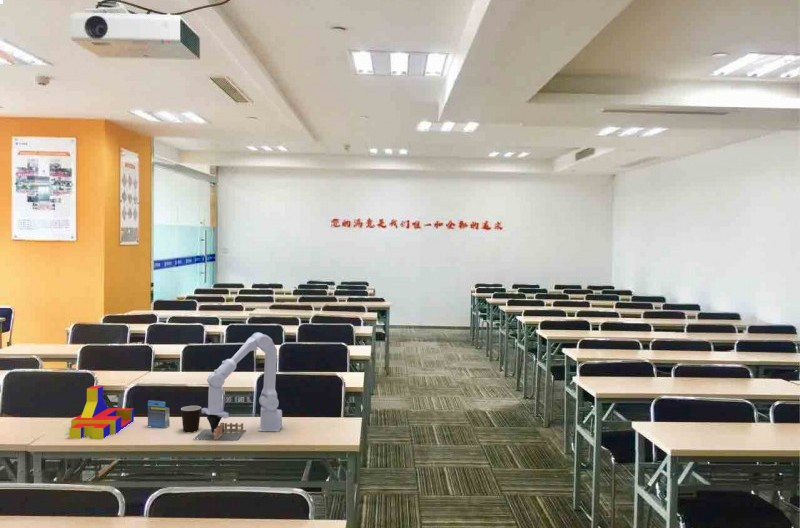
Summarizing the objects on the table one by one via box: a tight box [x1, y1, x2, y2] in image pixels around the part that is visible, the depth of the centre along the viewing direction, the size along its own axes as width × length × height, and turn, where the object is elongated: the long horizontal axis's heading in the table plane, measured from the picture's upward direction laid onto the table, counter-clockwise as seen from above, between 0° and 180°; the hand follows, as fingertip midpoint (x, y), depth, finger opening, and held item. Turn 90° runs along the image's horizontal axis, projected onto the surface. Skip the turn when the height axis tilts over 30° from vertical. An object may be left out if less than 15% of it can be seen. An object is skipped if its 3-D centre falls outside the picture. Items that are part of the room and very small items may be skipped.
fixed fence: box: [219, 422, 244, 433], centre depth 255 cm, size 10×2×4 cm, turn 90°
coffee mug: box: [180, 405, 202, 433], centre depth 260 cm, size 12×9×10 cm
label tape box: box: [147, 400, 171, 428], centre depth 263 cm, size 9×4×12 cm, turn 82°
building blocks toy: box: [68, 385, 135, 440], centre depth 257 cm, size 19×25×18 cm
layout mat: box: [194, 428, 247, 441], centre depth 252 cm, size 19×14×1 cm
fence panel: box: [214, 423, 222, 439], centre depth 250 cm, size 8×1×4 cm, turn 179°
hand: (214, 432), depth 249 cm, fingers closed, pressing on fence panel
